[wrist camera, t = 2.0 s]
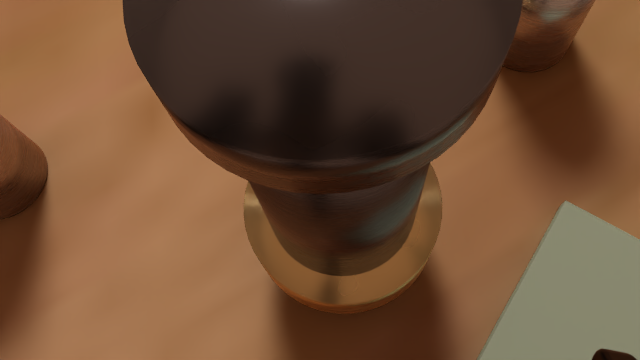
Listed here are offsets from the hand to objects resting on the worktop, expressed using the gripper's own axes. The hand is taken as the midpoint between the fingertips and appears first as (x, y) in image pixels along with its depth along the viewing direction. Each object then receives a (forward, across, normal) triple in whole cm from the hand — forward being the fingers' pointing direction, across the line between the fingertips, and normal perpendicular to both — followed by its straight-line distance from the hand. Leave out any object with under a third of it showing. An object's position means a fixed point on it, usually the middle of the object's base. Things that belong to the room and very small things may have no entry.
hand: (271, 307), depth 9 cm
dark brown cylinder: (+10, 0, +5) cm, 11 cm away
